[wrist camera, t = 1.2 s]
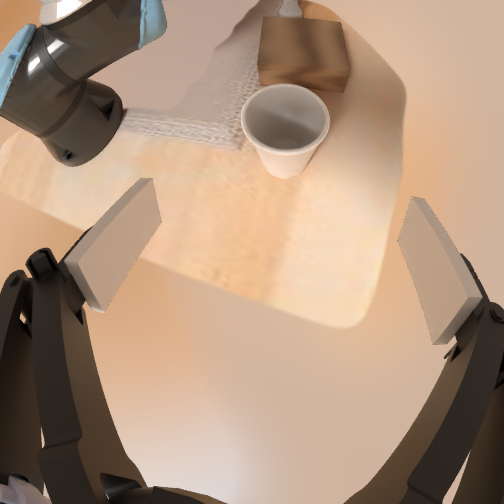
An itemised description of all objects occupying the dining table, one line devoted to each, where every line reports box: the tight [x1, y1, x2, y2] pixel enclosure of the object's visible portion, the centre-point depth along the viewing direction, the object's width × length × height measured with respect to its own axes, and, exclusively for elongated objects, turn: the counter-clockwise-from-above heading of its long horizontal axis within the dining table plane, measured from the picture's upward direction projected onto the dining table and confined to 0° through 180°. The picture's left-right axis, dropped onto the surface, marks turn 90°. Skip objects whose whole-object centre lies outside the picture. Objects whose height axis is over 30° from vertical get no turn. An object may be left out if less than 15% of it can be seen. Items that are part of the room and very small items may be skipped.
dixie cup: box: [241, 84, 330, 179], centre depth 28 cm, size 8×8×10 cm
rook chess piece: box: [279, 0, 303, 18], centre depth 31 cm, size 4×4×8 cm
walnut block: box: [257, 17, 350, 92], centre depth 31 cm, size 12×12×5 cm
